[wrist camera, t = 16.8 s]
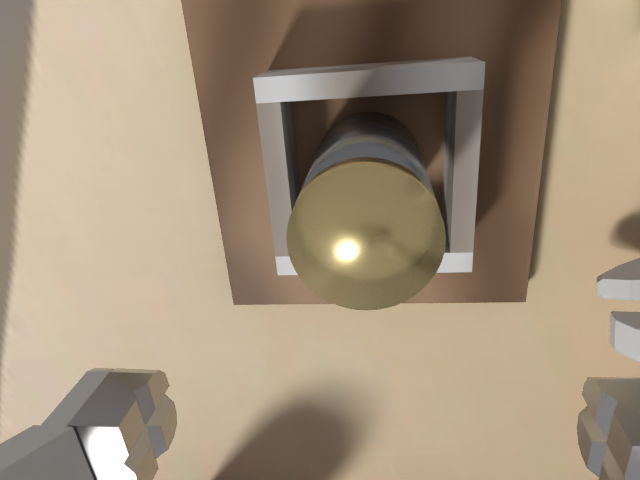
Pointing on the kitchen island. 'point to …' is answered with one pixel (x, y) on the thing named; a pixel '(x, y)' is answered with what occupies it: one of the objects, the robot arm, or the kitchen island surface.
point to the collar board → (384, 97)
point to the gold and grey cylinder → (366, 216)
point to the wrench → (625, 327)
